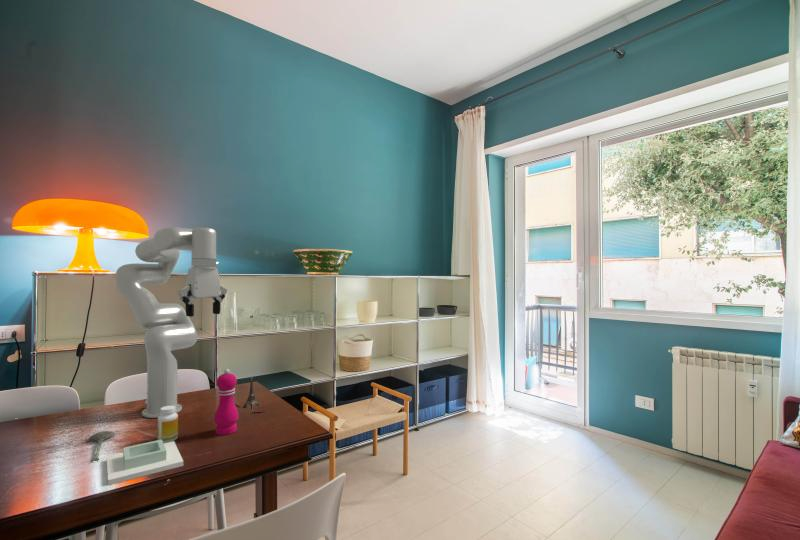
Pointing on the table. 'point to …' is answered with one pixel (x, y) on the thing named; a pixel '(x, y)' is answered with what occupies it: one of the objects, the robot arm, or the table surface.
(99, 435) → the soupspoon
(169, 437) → the supplement bottle
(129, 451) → the cup holder
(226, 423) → the pepper mill
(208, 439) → the table surface
